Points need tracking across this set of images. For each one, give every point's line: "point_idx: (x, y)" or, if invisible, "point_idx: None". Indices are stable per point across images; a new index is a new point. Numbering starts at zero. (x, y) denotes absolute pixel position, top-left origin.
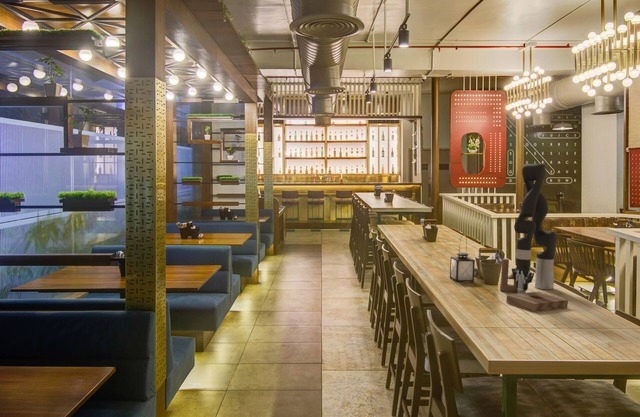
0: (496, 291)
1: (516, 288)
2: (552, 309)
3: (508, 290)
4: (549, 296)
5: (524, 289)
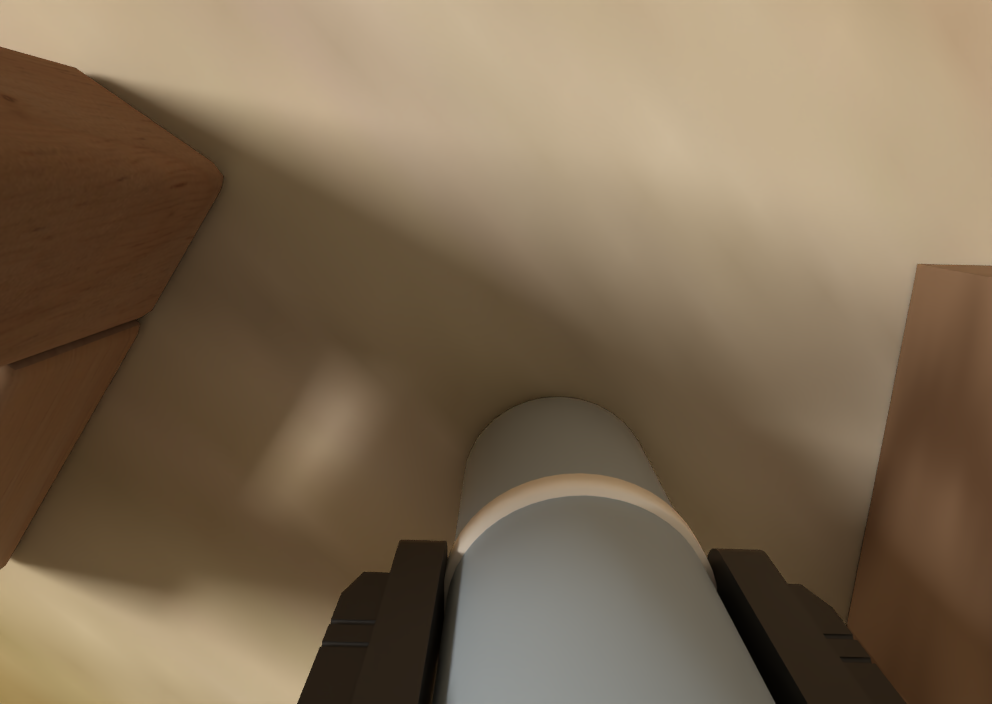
0: (2, 650)
1: (111, 301)
2: None
3: (64, 449)
4: None
5: None
